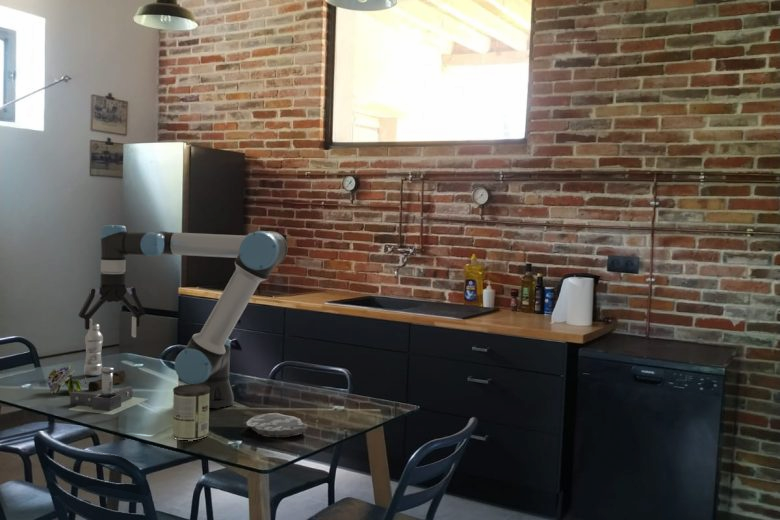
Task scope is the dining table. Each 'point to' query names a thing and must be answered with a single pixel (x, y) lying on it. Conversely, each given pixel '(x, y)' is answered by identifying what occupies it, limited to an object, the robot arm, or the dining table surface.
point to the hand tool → (117, 379)
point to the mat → (124, 406)
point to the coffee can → (191, 412)
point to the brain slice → (276, 424)
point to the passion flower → (63, 380)
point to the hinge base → (95, 401)
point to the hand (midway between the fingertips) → (112, 338)
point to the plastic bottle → (93, 352)
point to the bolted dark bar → (124, 393)
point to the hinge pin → (107, 381)
